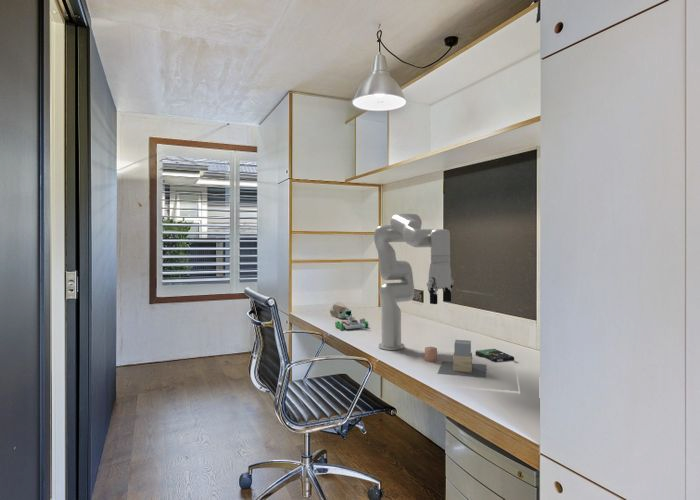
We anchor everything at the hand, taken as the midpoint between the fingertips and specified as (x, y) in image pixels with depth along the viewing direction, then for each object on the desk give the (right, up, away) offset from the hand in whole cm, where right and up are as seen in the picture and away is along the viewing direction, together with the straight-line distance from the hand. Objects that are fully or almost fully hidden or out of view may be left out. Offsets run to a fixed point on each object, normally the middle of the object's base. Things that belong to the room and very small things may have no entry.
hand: (440, 302), depth 177 cm
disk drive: (+28, -28, +18) cm, 43 cm away
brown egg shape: (-2, -27, +13) cm, 30 cm away
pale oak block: (+9, -27, 0) cm, 28 cm away
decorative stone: (-44, -25, +122) cm, 132 cm away
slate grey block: (+9, -21, 0) cm, 23 cm away
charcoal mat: (+9, -28, 0) cm, 29 cm away
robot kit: (-37, -26, +91) cm, 102 cm away
